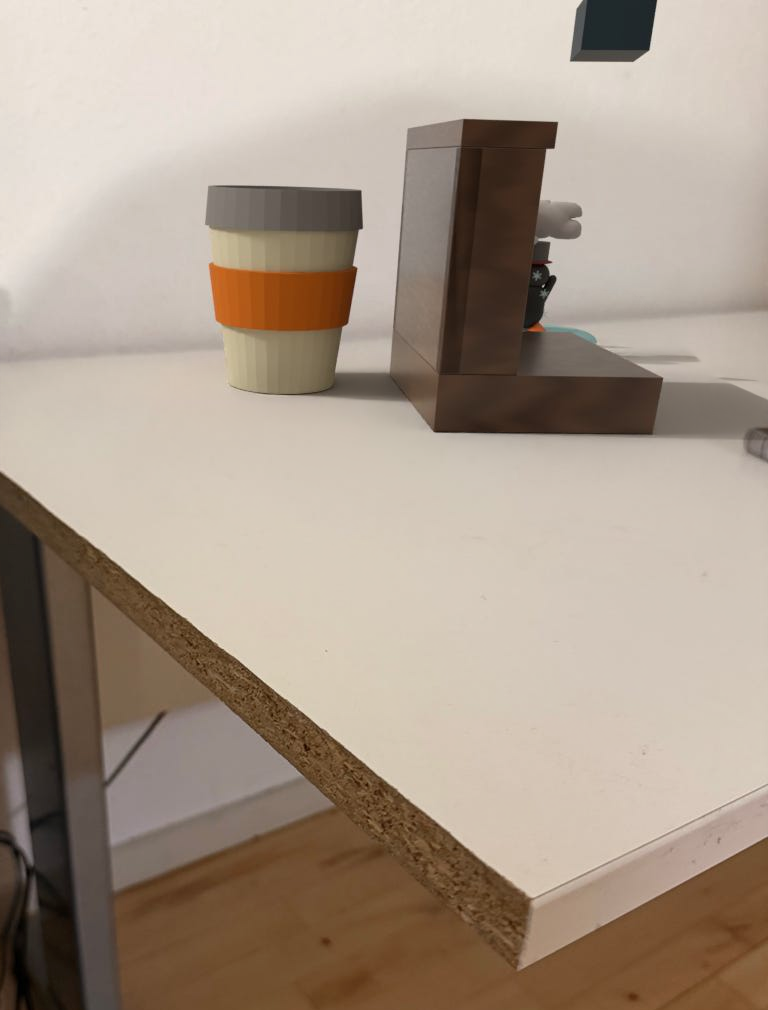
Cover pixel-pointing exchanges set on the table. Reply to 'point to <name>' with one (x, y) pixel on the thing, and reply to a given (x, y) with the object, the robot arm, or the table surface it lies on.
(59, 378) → the table surface
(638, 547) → the table surface
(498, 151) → the shelf
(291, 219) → the reusable coffee cup
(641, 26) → the watch
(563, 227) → the penguin figurine
